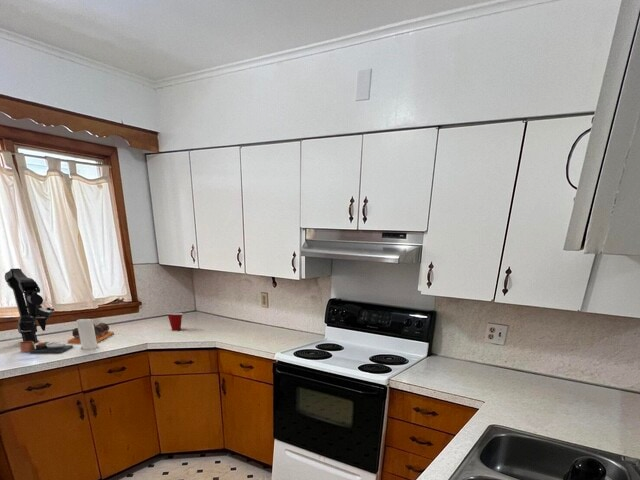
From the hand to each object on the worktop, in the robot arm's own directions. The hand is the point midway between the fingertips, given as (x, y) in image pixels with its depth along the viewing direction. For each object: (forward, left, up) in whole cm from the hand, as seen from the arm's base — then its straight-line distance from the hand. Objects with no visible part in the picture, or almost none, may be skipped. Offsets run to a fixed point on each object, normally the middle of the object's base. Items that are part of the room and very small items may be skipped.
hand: (39, 332), depth 237 cm
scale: (+5, 0, -10) cm, 11 cm away
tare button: (-1, 0, -8) cm, 8 cm away
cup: (+22, +8, -10) cm, 26 cm away
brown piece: (+13, +32, -10) cm, 36 cm away
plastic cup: (+58, +63, -10) cm, 86 cm away
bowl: (-7, -2, -10) cm, 13 cm away
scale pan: (+5, 0, -7) cm, 9 cm away
